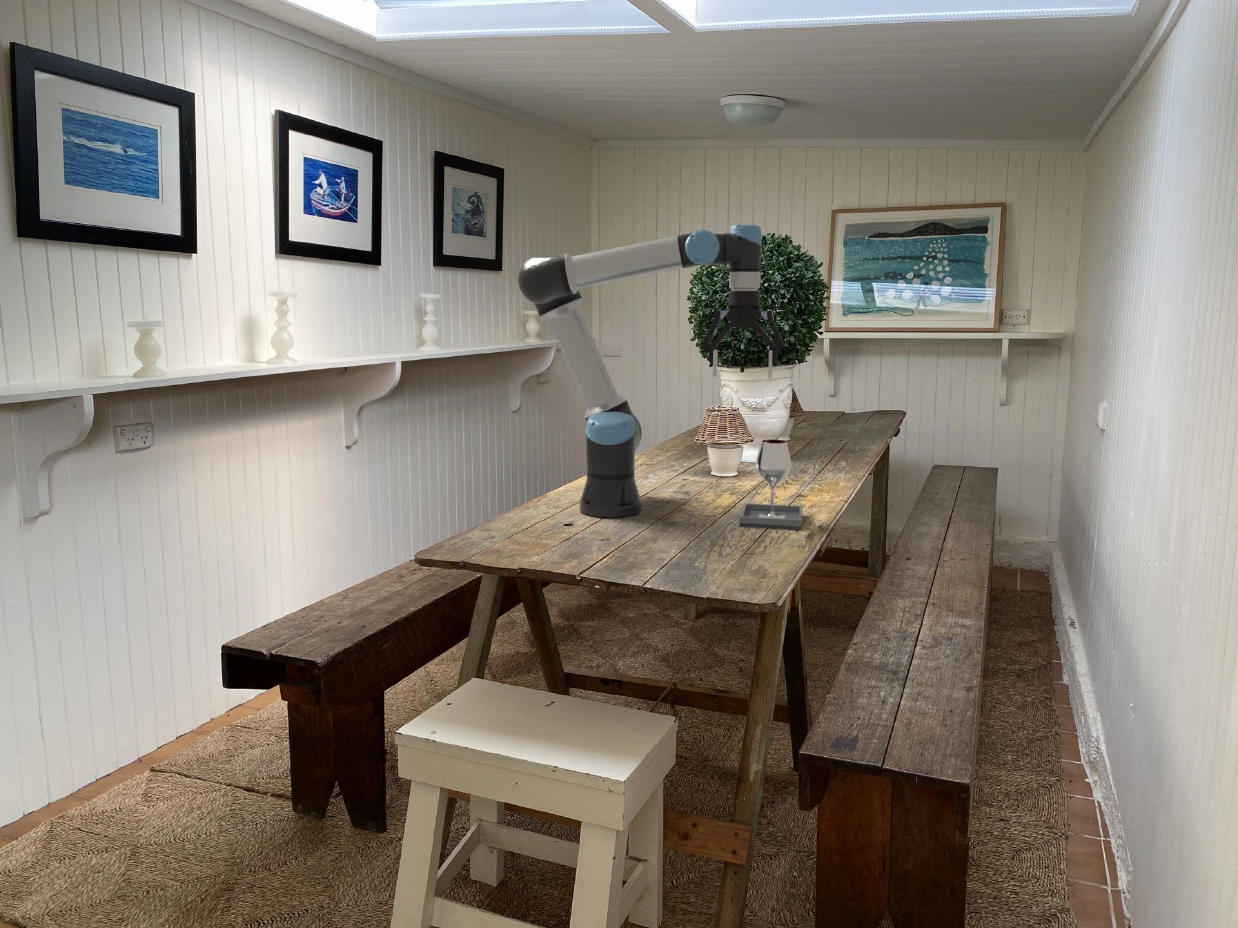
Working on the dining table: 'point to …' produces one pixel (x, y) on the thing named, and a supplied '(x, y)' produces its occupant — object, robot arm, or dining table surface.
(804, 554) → the dining table surface
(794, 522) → the tray
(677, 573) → the dining table surface
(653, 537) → the dining table surface
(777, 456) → the wineglass
